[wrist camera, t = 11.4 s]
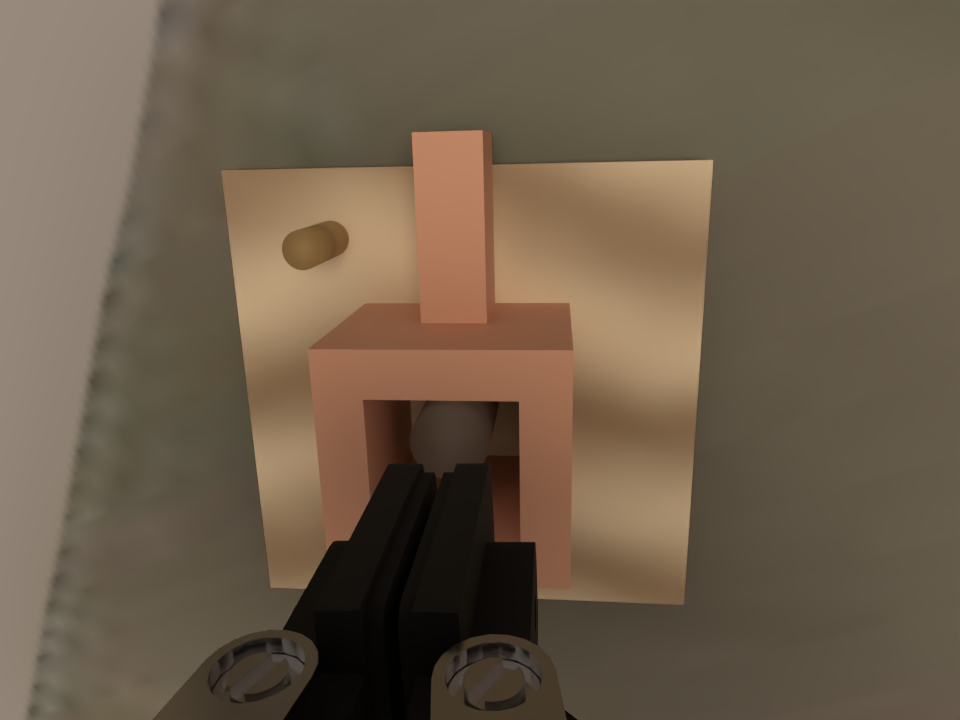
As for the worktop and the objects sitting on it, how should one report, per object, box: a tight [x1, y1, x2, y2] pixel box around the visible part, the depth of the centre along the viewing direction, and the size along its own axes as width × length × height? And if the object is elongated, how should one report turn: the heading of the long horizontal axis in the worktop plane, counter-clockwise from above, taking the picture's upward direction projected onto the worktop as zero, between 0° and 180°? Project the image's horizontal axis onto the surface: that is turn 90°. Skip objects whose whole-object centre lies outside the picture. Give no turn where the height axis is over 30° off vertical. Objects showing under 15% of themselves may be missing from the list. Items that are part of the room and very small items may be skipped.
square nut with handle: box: [308, 130, 573, 589], centre depth 22 cm, size 12×7×6 cm, turn 1°
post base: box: [221, 160, 713, 605], centre depth 24 cm, size 16×16×5 cm
